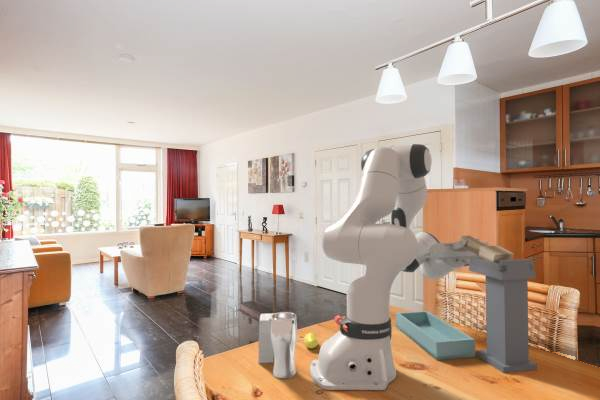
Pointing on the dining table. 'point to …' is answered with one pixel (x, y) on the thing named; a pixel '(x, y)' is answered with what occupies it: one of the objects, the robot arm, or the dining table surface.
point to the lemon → (310, 340)
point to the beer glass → (284, 343)
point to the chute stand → (506, 313)
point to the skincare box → (265, 339)
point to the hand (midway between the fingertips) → (472, 241)
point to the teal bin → (435, 335)
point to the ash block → (487, 250)
